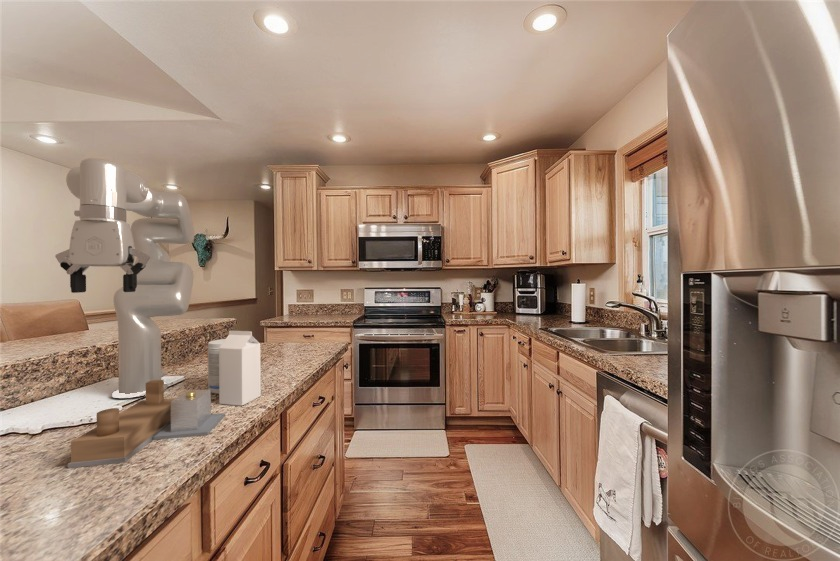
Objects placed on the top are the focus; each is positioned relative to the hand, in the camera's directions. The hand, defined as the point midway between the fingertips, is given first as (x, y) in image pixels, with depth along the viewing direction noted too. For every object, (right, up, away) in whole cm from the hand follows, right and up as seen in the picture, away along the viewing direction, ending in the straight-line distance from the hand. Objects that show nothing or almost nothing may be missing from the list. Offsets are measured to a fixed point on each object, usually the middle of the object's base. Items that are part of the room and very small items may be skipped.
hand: (104, 292), depth 73 cm
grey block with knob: (+20, -30, -1) cm, 36 cm away
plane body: (+12, -30, -6) cm, 33 cm away
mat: (+20, -30, -1) cm, 36 cm away
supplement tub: (+13, -30, +24) cm, 41 cm away
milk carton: (+22, -30, +15) cm, 41 cm away
